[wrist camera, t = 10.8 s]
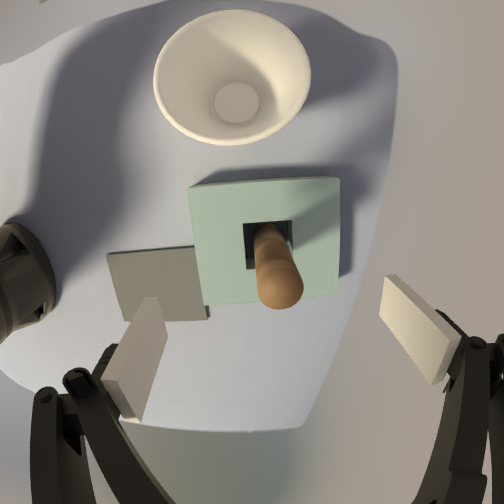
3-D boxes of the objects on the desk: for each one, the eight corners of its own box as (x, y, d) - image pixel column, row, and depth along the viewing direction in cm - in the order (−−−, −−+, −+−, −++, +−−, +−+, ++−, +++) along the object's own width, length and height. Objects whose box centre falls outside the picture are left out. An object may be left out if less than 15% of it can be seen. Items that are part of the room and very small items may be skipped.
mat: (125, 319, 32) (124, 321, 32) (107, 254, 29) (106, 255, 29) (207, 318, 32) (207, 320, 32) (196, 246, 29) (195, 247, 29)
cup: (306, 116, 25) (342, 94, 14) (224, 170, 27) (209, 177, 16) (249, 44, 22) (251, -12, 12) (169, 96, 24) (126, 65, 13)
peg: (253, 251, 29) (258, 311, 18) (252, 223, 28) (255, 269, 17) (282, 249, 29) (303, 307, 18) (281, 221, 28) (303, 266, 17)
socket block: (207, 292, 31) (204, 305, 28) (193, 185, 27) (187, 188, 24) (329, 282, 31) (337, 294, 28) (330, 176, 27) (339, 178, 24)
